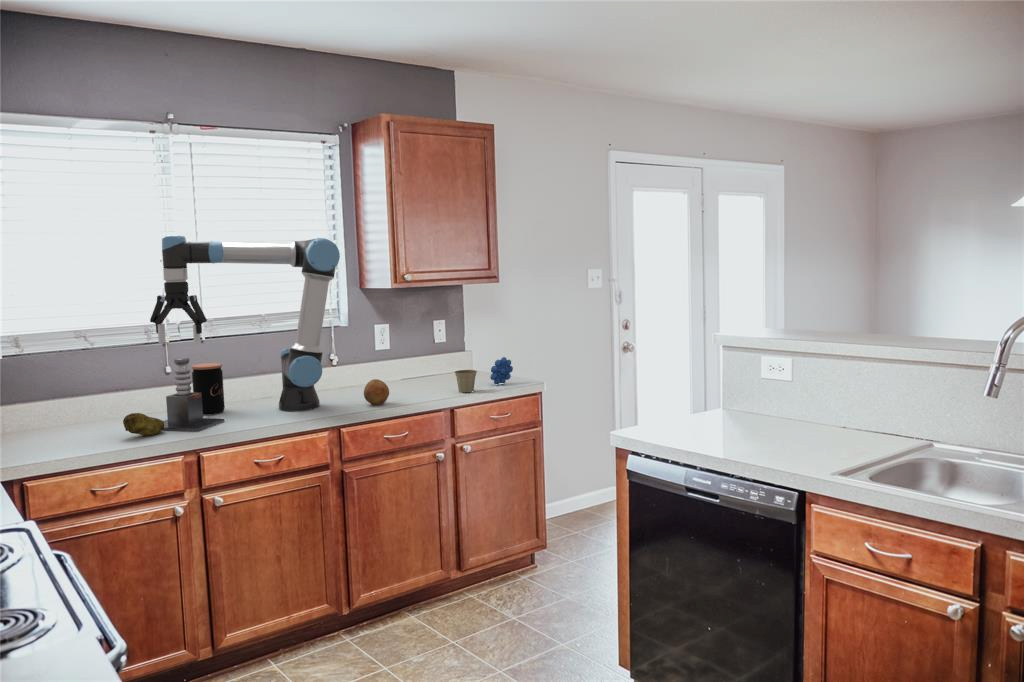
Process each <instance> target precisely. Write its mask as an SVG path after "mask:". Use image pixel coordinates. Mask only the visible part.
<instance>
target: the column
mask: <svg viewBox="0 0 1024 682" xmlns="http://www.w3.org/2000/svg"><path fill="white" fill-rule="evenodd" d="M173 363H174V367H175V369H174V374H175V376H174V380H175V381H176V382H175V381H174V382H175V386H176V387H175V391H176V393H177V396H188V395H191V392H192V391H191V390H192V386H191V384H192V380H191V379H192V375H190V373H191V370H190V357H177V358H173Z"/></svg>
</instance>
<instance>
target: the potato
mask: <svg viewBox="0 0 1024 682" xmlns="http://www.w3.org/2000/svg"><path fill="white" fill-rule="evenodd" d="M163 421H164V420H162V419H160V418H156V417H152V416H151V417H150V416H148V415H146V414H144V413H140V412H131V413H130V414H129V413H128V414H126V416H124V418H123V420H122V423H123V427H124V430H125V432H129V433H131V434H135V435H140V436H147V437H149V436H155V435H157V434H160V433H161V432H163V431H164V430H163V429H164V422H163Z"/></svg>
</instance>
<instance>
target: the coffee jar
mask: <svg viewBox="0 0 1024 682" xmlns="http://www.w3.org/2000/svg"><path fill="white" fill-rule="evenodd" d="M222 367H223V365H222V363H219V362H209V363H208V362H206V363H198V364H197V363H196V364H193V365H191V369H192V372H191V379H192V380H191V383H192V392H199V393H202V408H203V416H211V415H217V414H218V415H219V414H221V413H223V412H224V410H225V393H224V377H223V376H224V375H223V369H222Z"/></svg>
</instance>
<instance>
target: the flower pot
mask: <svg viewBox="0 0 1024 682" xmlns="http://www.w3.org/2000/svg"><path fill="white" fill-rule="evenodd" d="M453 373H454V375H455V377H456V381H457V388H458V393H460V392H467V393H468V392H471V393H473V392H472V391H474V392H475V382H476V381H475V380H476V376H477V373H478V370H474V369H460V370H455V371H454V372H453Z"/></svg>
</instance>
